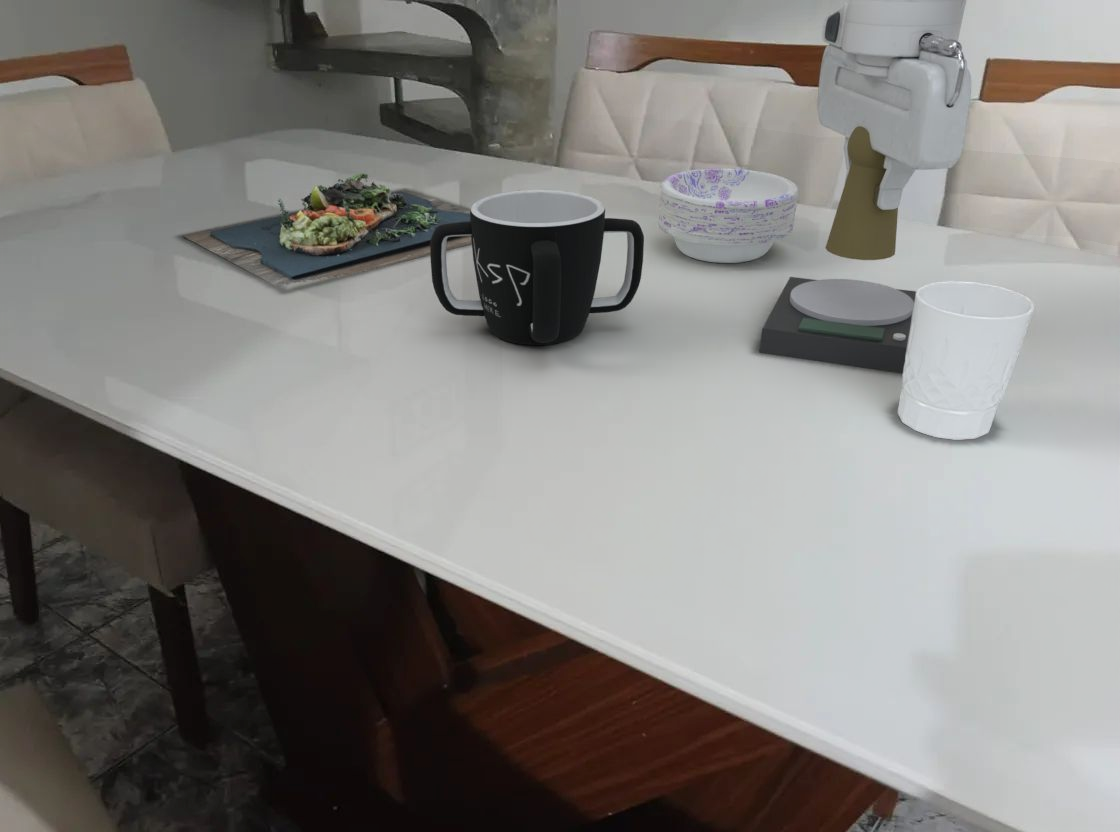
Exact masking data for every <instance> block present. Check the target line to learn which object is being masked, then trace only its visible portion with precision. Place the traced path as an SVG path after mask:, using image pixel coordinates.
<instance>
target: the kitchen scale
mask: <svg viewBox="0 0 1120 832" xmlns="http://www.w3.org/2000/svg"><path fill="white" fill-rule="evenodd" d="M916 291H917V290H916ZM916 291H915V290H908V289H899V288H894V287H892V286H889V285H885V284H881V283H877V282H872V281H866V280H859V279H848V278H825V279H813V278H805V277H804V278H803V277H794V276H790V277H789V278H788V280H787V282H786V283H785V286H784V287H783V290H782V291H781V293H780V295H779V297H778V299H777V300H776V302H775V304H774V306H773V308H772V310H771V311H770V314H769V315H768V317H767V319H766V321H765V323H764V324H763V327H762V328H761V335H760V343H759V350H758V351H759V353H760V354H765V355H773V356H779V357H786V358H792V359H799V360H800V359H801V360H807V361H814V362H821V363H827V364H835V365H841V366H849V367H854V368H861V369H869V370H876V371H883V372H890V373H895V374H902V375H903V369H904V364H905V354H906V348H907V342H908V336H909V331H910V325H911V319H912V313H913V307H914V301H915V295H916Z"/></svg>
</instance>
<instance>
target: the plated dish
mask: <svg viewBox="0 0 1120 832" xmlns="http://www.w3.org/2000/svg"><path fill="white" fill-rule="evenodd" d="M362 179H364V181H365V182H366V183H367V182H368V179H369V174H367V173H366V172H365V173H359V174H354V175H352V176H351V177H348V178H346V180H345V181H344V180H342V179H338V180H337V182H336V183H334V184H333V185H332V186H330V185H328V187H326V186H323V185H322V184H320V185H317V186H316V185H315V186H314V187H313V189H312V191H311V192H310V193H309V195H307V196H305V197H304V198H300V200H301V201H302V206H303V209H302V210H297V211H293V212H289V210H288V211H287V210H285V207H286V206H285V203H284V202H283V200H282V199H281V198H278V200H277V202H278V205H279V208H280V209H279V211H280V212H281V213H280V214H279V215H278V214H277V215H274V216H273V215H272V216H268V217H264V218H263V217H262V218H259V219H254V220H250V221H245V222H240V223H239V222H238V223H234V224H230V225H226V226H221V227H215V228H211V229H206V230H201V231H197V232H191V233H186V234H182V235H181V236H182V237H184V238H185V239H187V240H189V241H191V242H192V243H194V244H196V245H198V246H200V247H201V248H204V249H206V250H208V251H210V252H211V253H213V254H215V255H216V256H219V257H221V258H223V259H224V260H227V261H228V262H230V263H232V264H234V265H236V266H238V267H239V268H242V269H243V270H245V271H247V272H249V273H251V274H252V275H254V276H256V277H258V278H259V279H262V280H263V281H265V282H267V283H268V284H271V285H273V286H275V287H279V286H280V287H281V286H284V285H286V286H287V285H291V284H294V283H306V282H309V281H317V280H318V281H319V282H320V281H322V280H325V279H338V278H345V277H347V276H350V275H351V276H352V275H354V274H356V273H357V274H359V273H365V272H369V271H374V270H377V269H380V268H386V267H388V266H393V265H396V264H400V263H404V262H408V261H411V260H415V259H419V258H424V257H427V256H430V241H431V237H432V235H433V232H434V230H435V229H436V228H437V227H438V226H440V225H443V224H449V223H457V222H467V221H470V210H471V209H468V208H465V207H462V206H458V205H455V204H451V203H449V202H445V201H442V200H439V199H436V198H432V197H429V196H426V195H423V194H420V193H418V192H414V191H411V190H409V189H401V190H395V191H391V189H390V188H389V187H388V188H387V187H386V185H385V184H379V185H377V184H376V183H375V182H374V180H373V181H372V182H371V184H370V185H367V184H365V183H363V182H362V181H361V180H362ZM469 245H472V240H471V236H451V237H448V238H447V245H446V251H451V250H453V249H458V248H461V247H462V248H463V247H466V246H469Z"/></svg>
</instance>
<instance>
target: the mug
mask: <svg viewBox="0 0 1120 832" xmlns="http://www.w3.org/2000/svg"><path fill="white" fill-rule="evenodd" d="M469 210H470V221H467V222H457V223H449V224H443V225H440V226H438V227H437V228H436V229H435V230H434V232H433V235H432V237H431V241H430V255H429V256H430V272H431V280H432V281H431V282H432V286H433V289H434V292H435V295H436V297H437V299H438V301H439V303H440V304H441V306H442V307H443V308H444V309H445V311H447V312H448V313H450V314H452V315H454V316H455V315H456V316H463V317H464V316H465V317H484V319H485V321H486V324H487V328H488V329H489V330H490V332H491V333H492V334H493V335H494V336H496V337H498V338H499V339H502V340H504V341H507V342H510V343H514V344H518V345H525V346H527V345H528V346H546V345H553V344H554V345H555V344H560V343H563V342H566V341H569V340H572V339H573V338H574V337H576V336H578V335H580V334H581V333H582V332H583V330H584V328H585V326H586V324H587V321H588V318H589V315H590V314H602V313H603V314H604V313H613V312H614V313H615V312H618V311H621V310H623V309H626V307H628V305H629V304H630V303H631V302H632V301H633V299H634V297H635V296H636V294H637V292H638V290H639V288H640V287H639V286H640V284H641V279H642V275H643V274H642V271H643V264H644V250H645V249H644V247H645V235H644V232H643V229H642V227H641V225H640V223H638V222H637V221H635V220H634V219H627V218H616V217H615V218H613V217H606V208H605V205H604V204H603V203H602V202H601V201H600V200H597V199H596V198H594V197H591V196H589V195H585V194H583V193H576V192H571V191H567V190H566V191H565V190H555V189H553V190H552V189H526V190H525V189H523V190H512V191H507V192H501V193H496V194H492V195H489V196H486V197H484V198H480V199H478V200H477V201H476V202H475V203H473V204H472V205H471V207H470V209H469ZM607 233H611V234H612V233H613V234H614V233H626V240H627V250H626V265H625V272H624V280H623V282H622V285H621V287H620V289H619V291H618V292H617V294H615V295H611V296H606V297H605V296H603V297H595V291H596V288H597V282H598V277H599V272H600V266H601V262H602V253H603V245H604V237H605V236H604V235H605V234H607ZM451 236H471V240H472V244H471V251H472V260H473V261H472V262H473V267H474V272H475V273H474V274H475V277H476V284H477V290H478V295H479V300H464V299H457V298H456V296H455V295H454V294H453V293H452V290H451V288H450V283H449V277H448V266H447V250H446V245H447V238H448V237H451Z"/></svg>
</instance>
